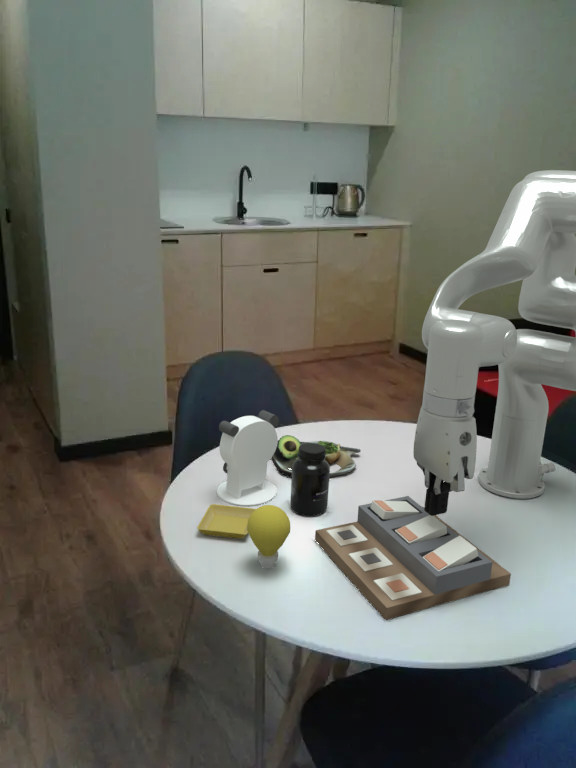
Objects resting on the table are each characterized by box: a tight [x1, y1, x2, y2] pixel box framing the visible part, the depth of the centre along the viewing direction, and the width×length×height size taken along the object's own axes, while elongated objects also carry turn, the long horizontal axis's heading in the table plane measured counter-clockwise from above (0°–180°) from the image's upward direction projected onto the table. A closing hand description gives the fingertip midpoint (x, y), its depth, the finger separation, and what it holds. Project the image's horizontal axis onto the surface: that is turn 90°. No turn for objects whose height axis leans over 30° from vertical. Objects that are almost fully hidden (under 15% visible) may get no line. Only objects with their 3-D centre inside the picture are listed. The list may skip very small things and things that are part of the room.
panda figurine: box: [216, 409, 280, 507], centre depth 126 cm, size 12×11×15 cm
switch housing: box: [356, 495, 492, 595], centre depth 107 cm, size 10×22×3 cm, turn 24°
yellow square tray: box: [196, 503, 257, 540], centre depth 115 cm, size 9×9×2 cm
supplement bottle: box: [289, 443, 331, 517], centre depth 121 cm, size 7×7×12 cm
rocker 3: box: [423, 536, 478, 571], centre depth 100 cm, size 7×4×2 cm, turn 114°
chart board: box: [314, 506, 512, 621], centre depth 107 cm, size 22×22×2 cm
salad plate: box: [272, 434, 362, 478], centre depth 142 cm, size 19×18×5 cm
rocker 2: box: [395, 515, 447, 545], centre depth 106 cm, size 7×4×2 cm, turn 114°
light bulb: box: [247, 504, 291, 570], centre depth 103 cm, size 7×7×10 cm
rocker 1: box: [371, 499, 419, 519], centre depth 113 cm, size 7×4×2 cm, turn 114°
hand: (435, 512), depth 106 cm, fingers closed
